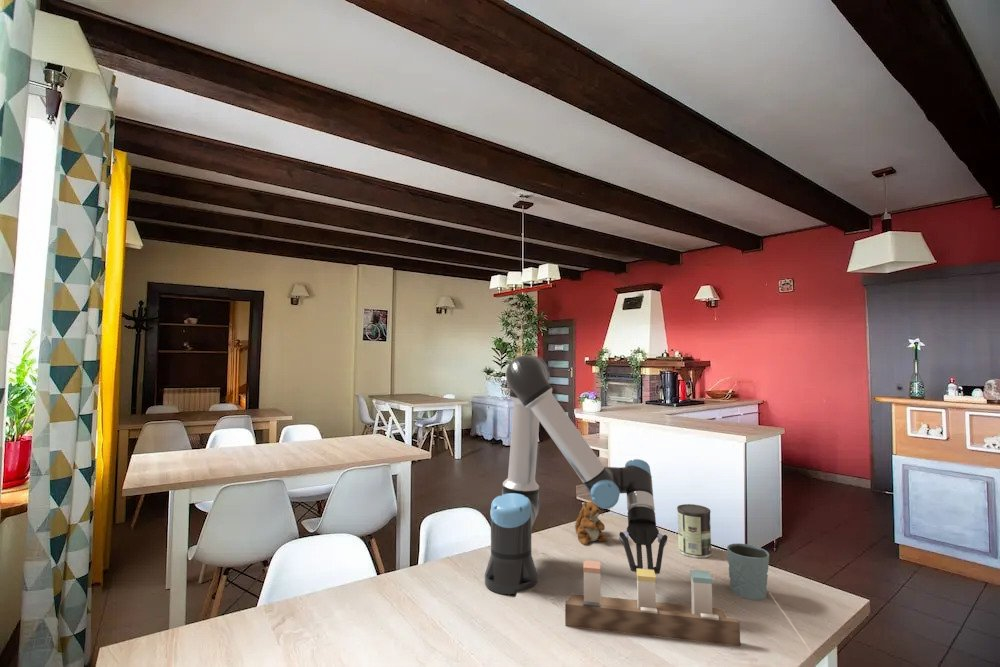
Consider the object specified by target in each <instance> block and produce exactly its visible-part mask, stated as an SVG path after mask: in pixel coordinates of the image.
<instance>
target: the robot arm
mask: <svg viewBox="0 0 1000 667" xmlns="http://www.w3.org/2000/svg"><path fill="white" fill-rule="evenodd" d="M505 377H506V382H507V384H508V386H509V398H510V399H511V401H512V402H513V407H512V421H511V433H510V434H511V436H510V446H509V447H510V448H509V449H510V450H509V458H508V473H507V474H508V475H507V478H506V479H504V481H503V482H502V488H501V495H497V496H496V497H495V498H494V499H493V500H492V501H491V503H490V504H491V505H490V506H491V507H490V511H489V512H490V513H489V514H490V515H489V516H490V556H489V560H488V562H487V566H486V569H485V573H484V585H485V587H486V588H487V589H488V590H490V591H492V592H493V593H497V594H501V595H506V594H508V596H511V595H510V594H516V595H517V593H519V592H524V591H528V590H530V589H532V588H534V587H535V586H537V584H538V581H539V579H538V578H539V577H538V576H539V575H538V571H537V568H536V564H535V561H534V558H533V555H532V554H533V553H532V530H533V529H532V528H533V526H534V523H535V521H536V519H537V517H538V515H539V512H540V506H541V505H540V498H539V497H540V496H539V494H540V493H539V492H540V485H539V484H538V483H537V481H536V471H537V457H538V445H539V444H538V443H539V434H540V433H539V431H540V424H541V426H542V427H543V428H544V430H545V431H546V433H547V434H548V436H549V437H550V438H551V440H552V441H553V442H554V443H555V445H556V447H557V448H558V449H559V451H560V452H561V454H562V455H563V456H564V458H565V459H566V461H567V462H568V463H569V465H570V466H571V468H572V469H573V471H574V472H575V473H576V475H577V477H578V478H579V479H580V480H581V482H582V483H583V485H584V487H585V490H586V491H587V492H589V494H590V498H591V500H592V502H594V504H595V505H597V506H598V508H599V509H603V510H604V509H605V510H608V509H611V508H614V507H615V506H616V505H617V503H618V501H619V500H620V494H626V506H627V507H626V508H627V527H626V530H625V531H620V532H619V536H618V537H619V540H620V542H621V544H622V545H623V548H624V551H625V554H626V559H627V562H628V565H629V569H630V571H631V572H634V573H636V568H639V569H644V565H643V564H644V562H643V550H642V546H645V552H646V553H645V554H646V564H647V569H650V570H654V572H655V575H659V574H660V573H661V568H662V563H663V560H662V559H663V555H664V548H665V546H666V544H667V543H668V535H666V534H662V533H661V532H660V531H659V529H658V527H657V520H656V512H655V501H654V492H653V491H654V490H653V480H652V477H653V475H652V472H651V466H650V465H649V463H648V462H647V461H645V460H643V459H638V458H634V459H633V460H628V461H626V463H625V465H624V467H615V466H605V465H604V463H602V461H601V460H600V458H599V457H598V456H597V454H596V453H595V452H594V451H593V449H592V448H591V446H590V445H589V443H588V442H587V440H586V439H585V438H584V436H583V435H582V433H581V432H580V431H579V429H578V428H577V426H576V425H575V424H574V422H573V421H572V420H571V419H570V417H569V415H568V414H567V413H566V411H565V410H564V408H563V406H561V404H560V403H559V401H557V399H556V397H555V396H554V395H553V387H552V386H551V383H550V382H549V380H550V377H551V375H550V369H549V367H548V365H547V363H546V361H544V360H543V359H542V358H540V357H539V356H534V355H519V356H518V357H514V359H512V361H511V362H510V363H509V364H508V365H507V367H506V372H505ZM629 538H630V539H631V540H632V542H633V543H635V549H636V562H635V559H634V556H633V552H632V549H631V546H630V542H629ZM655 540H657V542H658V543H659V545H658V550H657V557H656V562H655V566H654V560H653V551H652V550H653V549H652V548H653V547H652V545H653V543H654V542H655ZM636 564H637V565H636Z"/></svg>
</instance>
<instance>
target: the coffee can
mask: <svg viewBox="0 0 1000 667" xmlns="http://www.w3.org/2000/svg"><path fill="white" fill-rule="evenodd" d="M676 510H677V535H678V536H677V537H678V538H677V540H678V541H677V542H678V543H677V544H678V552H679V553H680V554H681V555H684V556H687V557H689V558H694V559H695V558H696V559H707V558H709V557H711V556H712V538H711V536H712V535H711V533H712V532H711V509H710V508H709V507H706V506H704V505H699V504H692V503H691V504H690V503H686V504H685V503H684V504H683V503H682V504H678V505H677V507H676Z"/></svg>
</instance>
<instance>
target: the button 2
mask: <svg viewBox="0 0 1000 667" xmlns="http://www.w3.org/2000/svg"><path fill="white" fill-rule="evenodd" d="M689 571H690V589H691V590H690V591H691V594H690V595H691V598H690V599H691V601H690V602H691V606H692V614H697V615H700V613H703V614H712V608H713V586H712V585H713V578H712V575H711V574H710V572H709V570H699V569H690V570H689Z"/></svg>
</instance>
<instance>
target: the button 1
mask: <svg viewBox="0 0 1000 667" xmlns="http://www.w3.org/2000/svg"><path fill="white" fill-rule="evenodd" d="M582 568H583V569H582V570H583V595H584V601H588V602H597V603H599V604H601V601H600V596H601V561H594V560H583V567H582Z"/></svg>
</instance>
